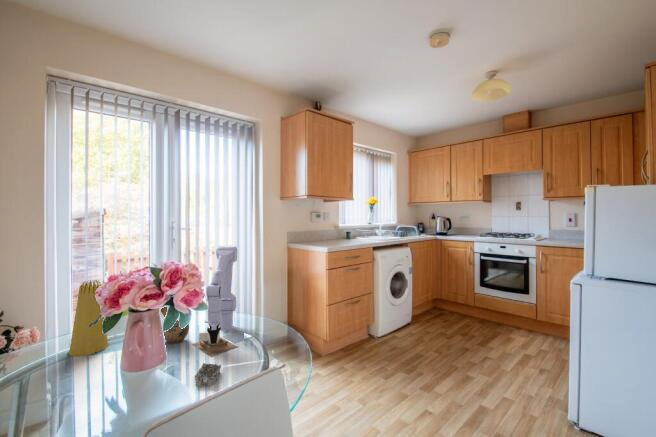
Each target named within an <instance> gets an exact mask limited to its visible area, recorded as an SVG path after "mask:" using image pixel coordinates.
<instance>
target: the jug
mask: <svg viewBox="0 0 656 437" xmlns="http://www.w3.org/2000/svg"><path fill="white" fill-rule="evenodd" d="M220 335H221V331H219V334H218V337H217V342H216V343H215V344H211V341H210V336H209V333H208V331H207V330H206V331H199V333H198V342H202V341H208V345H209V346H210V347H211V346H213V345H216V344H219V343H220V337H221V336H220Z"/></svg>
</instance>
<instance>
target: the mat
mask: <svg viewBox="0 0 656 437" xmlns="http://www.w3.org/2000/svg"><path fill="white" fill-rule="evenodd" d="M244 333H247V332H246V331H244V330H239V331H236V332H232V333H229V334H226V335H223V336H222V338H223V339H224V340H226V341H228V342H230V343H232V344H233V343H234V344H237V343H241V342H243V341H246V340H247V339H245V338H244Z"/></svg>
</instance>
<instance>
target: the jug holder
mask: <svg viewBox="0 0 656 437" xmlns="http://www.w3.org/2000/svg"><path fill="white" fill-rule="evenodd" d="M191 345H192V346H194V347H195V348H197V349H198V350H199V351H201V352H202V353H204V354H205V355H208V356H209V357H210V358H213V357H216V356H218V355H221V354H224V353H226V352H229V351H231V350H235V349H238V346H237V345H235V343H234V344H233V342H231V341H229V340H227V339H225V338H224V337H221V336H220V343H219V344H216V345H213V346H211V347H210V346H209V345H208V341H202V342H199V341H197V342H194V343H191Z"/></svg>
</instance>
